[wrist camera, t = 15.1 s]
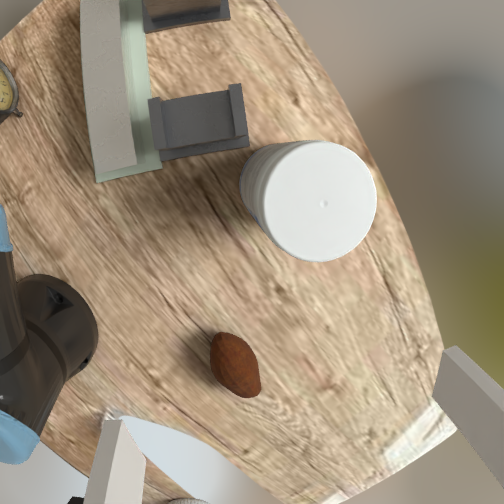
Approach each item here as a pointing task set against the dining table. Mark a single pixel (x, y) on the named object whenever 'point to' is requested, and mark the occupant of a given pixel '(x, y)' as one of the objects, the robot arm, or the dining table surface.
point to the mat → (142, 95)
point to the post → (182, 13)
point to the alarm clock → (8, 93)
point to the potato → (235, 365)
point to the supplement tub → (309, 197)
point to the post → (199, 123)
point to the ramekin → (188, 501)
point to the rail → (110, 85)
